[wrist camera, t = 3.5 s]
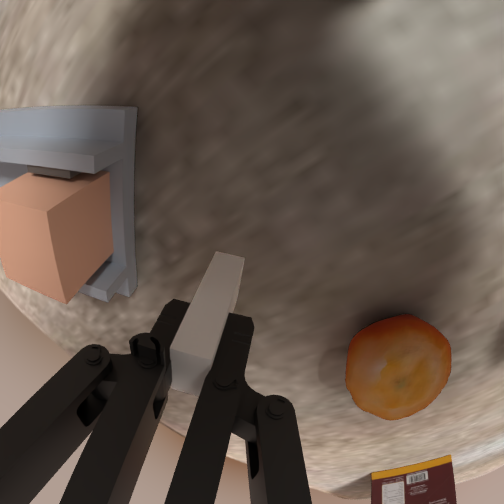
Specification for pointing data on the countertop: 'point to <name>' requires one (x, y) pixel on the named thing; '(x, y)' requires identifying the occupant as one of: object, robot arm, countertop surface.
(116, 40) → the countertop surface
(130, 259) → the chute
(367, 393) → the fruit
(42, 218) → the block
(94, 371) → the robot arm
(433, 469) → the supplement box
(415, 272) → the countertop surface
